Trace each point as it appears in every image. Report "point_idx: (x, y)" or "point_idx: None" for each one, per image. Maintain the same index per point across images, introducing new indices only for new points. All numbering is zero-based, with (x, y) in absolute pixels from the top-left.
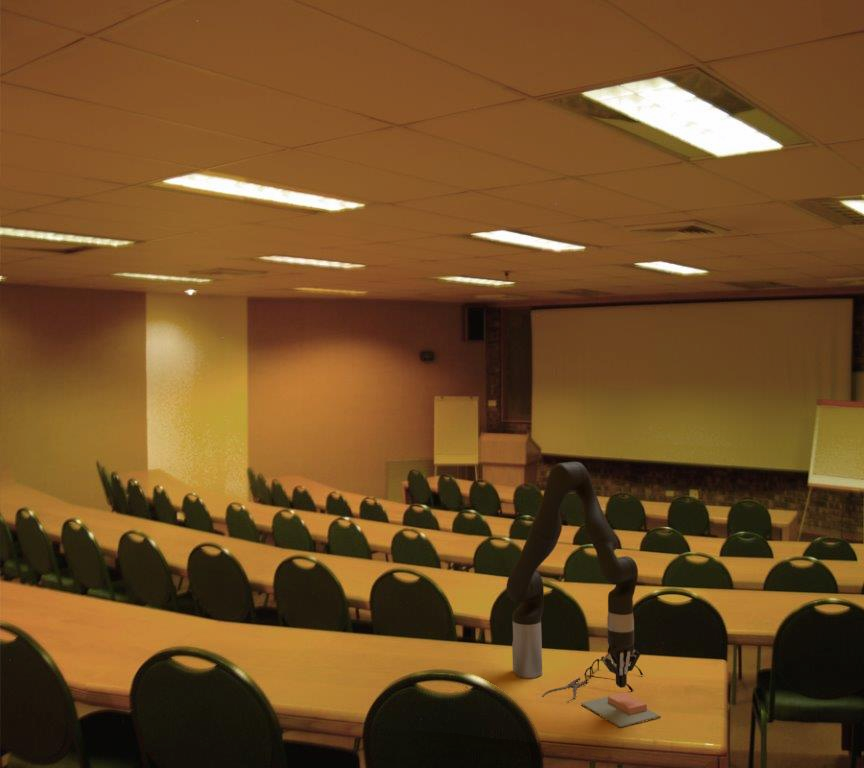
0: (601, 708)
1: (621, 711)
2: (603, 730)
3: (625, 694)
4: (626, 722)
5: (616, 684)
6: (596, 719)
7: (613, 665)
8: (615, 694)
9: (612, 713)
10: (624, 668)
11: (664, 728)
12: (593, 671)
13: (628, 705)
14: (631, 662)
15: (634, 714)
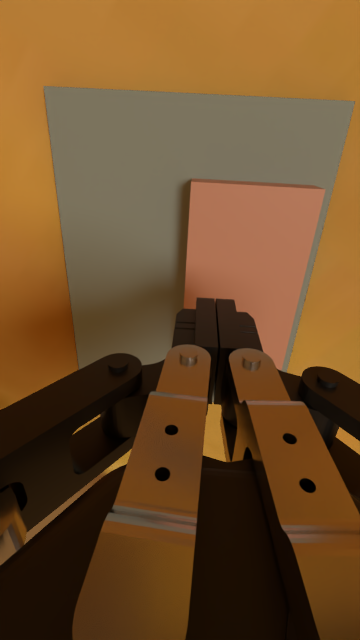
0: (110, 225)
1: (174, 303)
2: (17, 368)
3: (304, 221)
4: None
5: (182, 310)
6: (38, 285)
7: (58, 503)
8: (254, 184)
9: (123, 297)
10: (226, 454)
11: (217, 451)
12: None
13: None
14: (353, 496)
15: None
